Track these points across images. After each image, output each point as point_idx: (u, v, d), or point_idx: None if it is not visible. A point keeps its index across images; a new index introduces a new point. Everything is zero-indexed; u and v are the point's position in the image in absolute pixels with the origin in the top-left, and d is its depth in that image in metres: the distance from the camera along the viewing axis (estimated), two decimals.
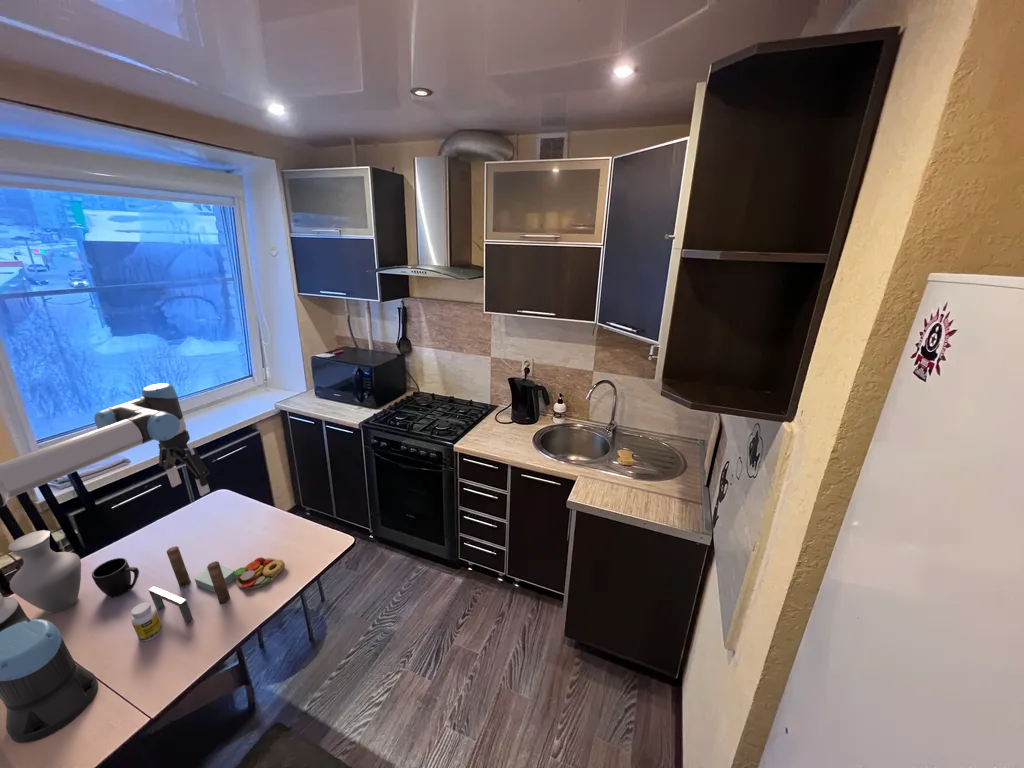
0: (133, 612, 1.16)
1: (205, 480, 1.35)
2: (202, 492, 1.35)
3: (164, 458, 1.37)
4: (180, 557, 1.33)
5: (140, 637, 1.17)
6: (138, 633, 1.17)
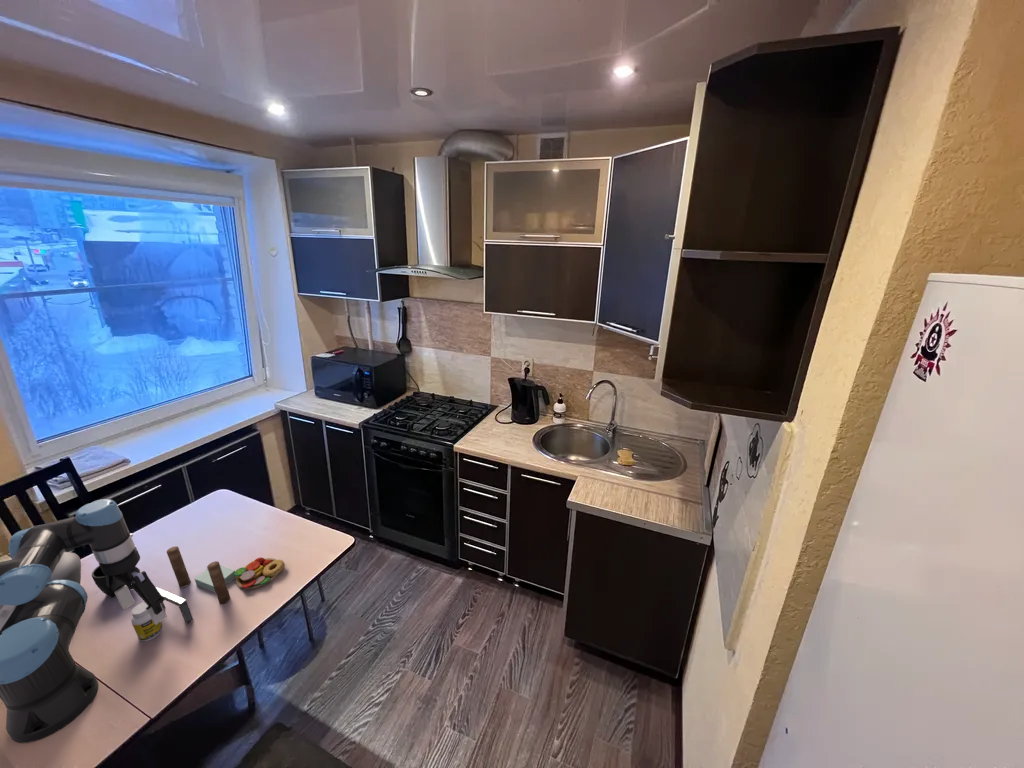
0: (133, 612, 1.16)
1: (159, 607, 1.14)
2: (156, 620, 1.14)
3: (112, 579, 1.16)
4: (180, 557, 1.33)
5: (140, 637, 1.17)
6: (138, 633, 1.17)
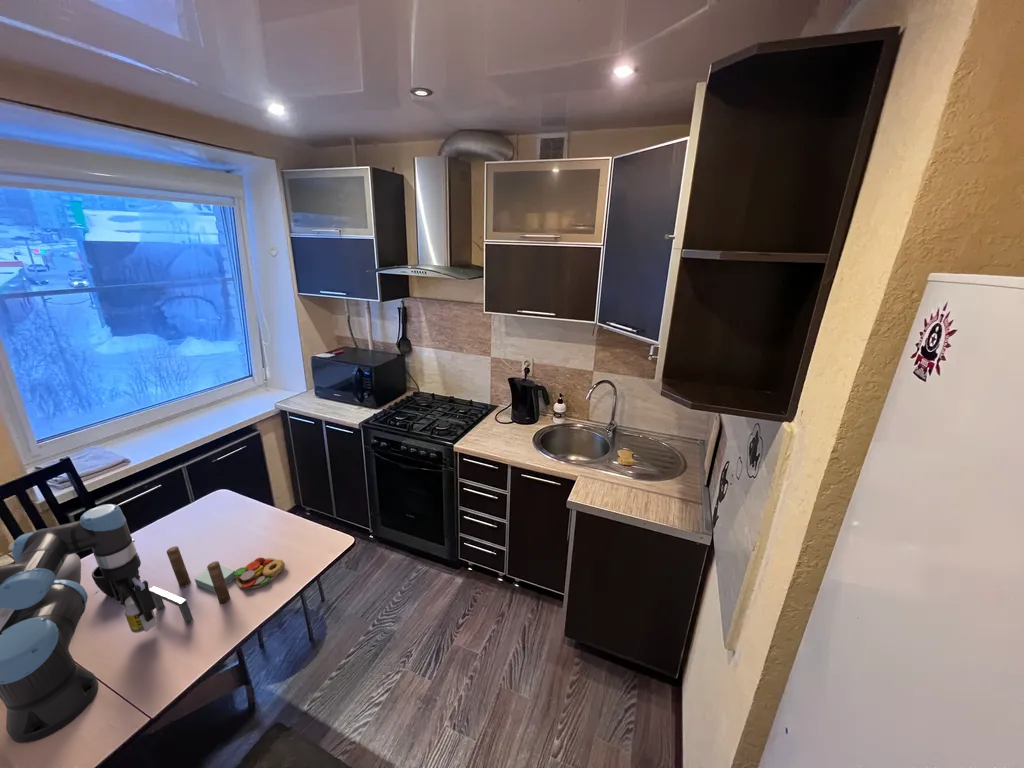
0: (126, 603, 1.14)
1: (150, 614, 1.16)
2: (147, 627, 1.16)
3: (118, 590, 1.16)
4: (180, 557, 1.33)
5: (133, 628, 1.16)
6: (131, 624, 1.15)
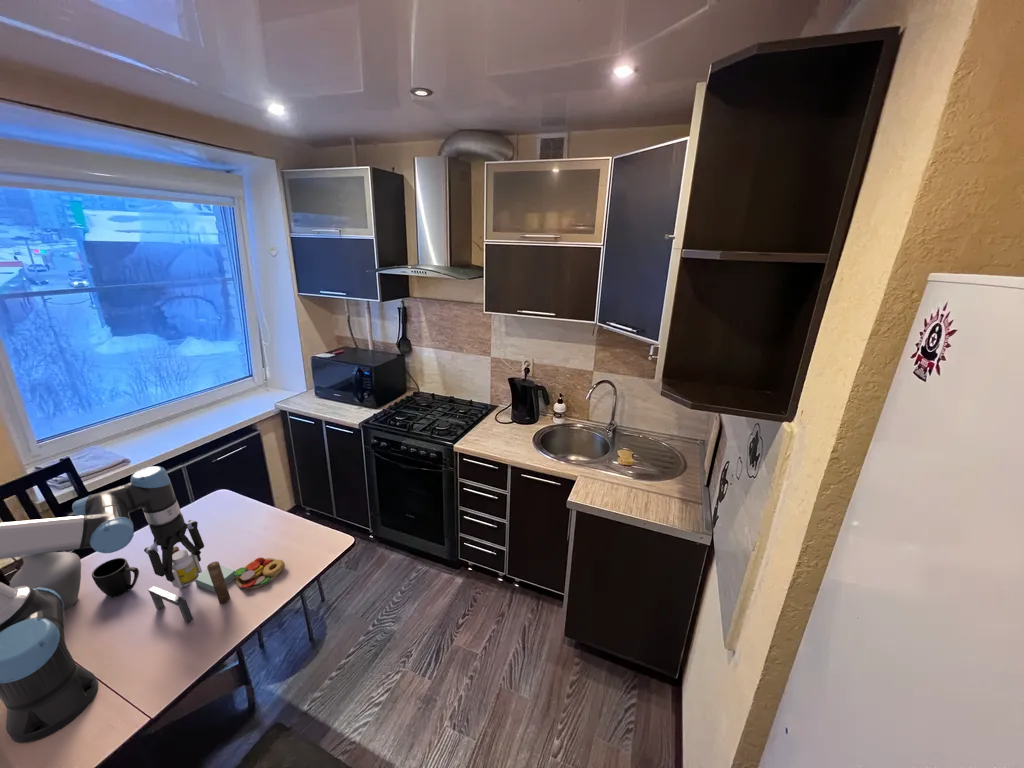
0: (176, 552, 1.26)
1: (168, 577, 1.23)
2: (173, 584, 1.25)
3: (193, 539, 1.29)
4: None
5: None
6: None
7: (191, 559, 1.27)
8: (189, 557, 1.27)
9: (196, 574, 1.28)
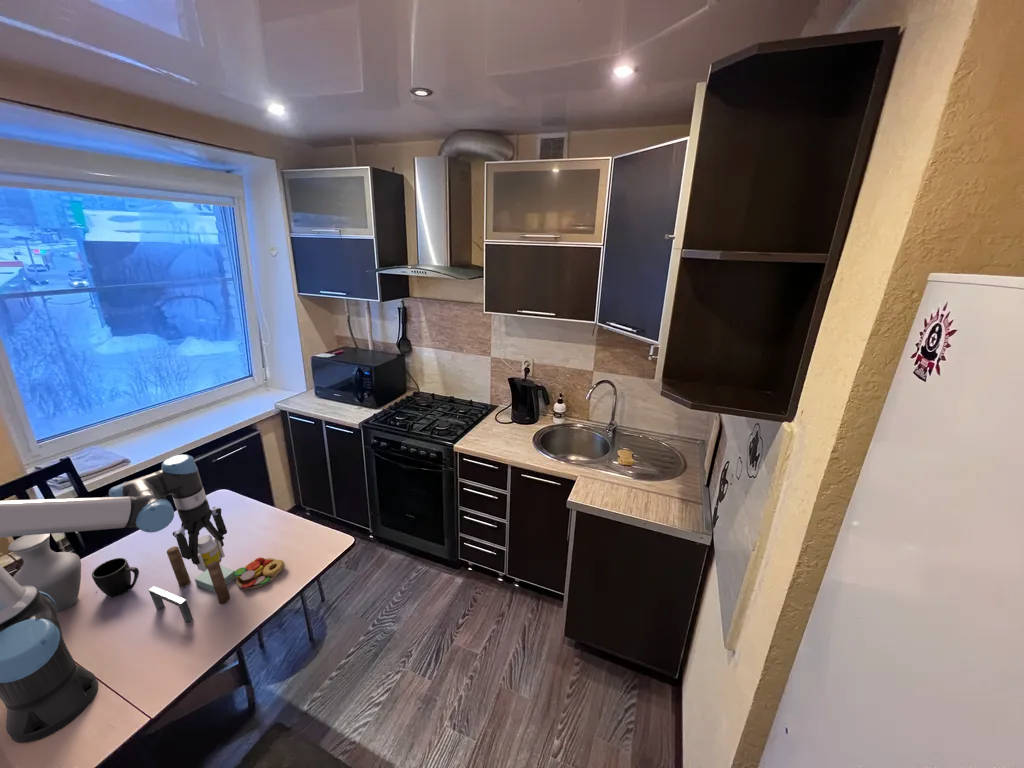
0: (201, 537, 1.32)
1: (193, 560, 1.29)
2: (198, 567, 1.32)
3: (217, 525, 1.36)
4: (180, 557, 1.33)
5: None
6: None
7: (215, 544, 1.33)
8: (213, 542, 1.33)
9: (219, 558, 1.35)
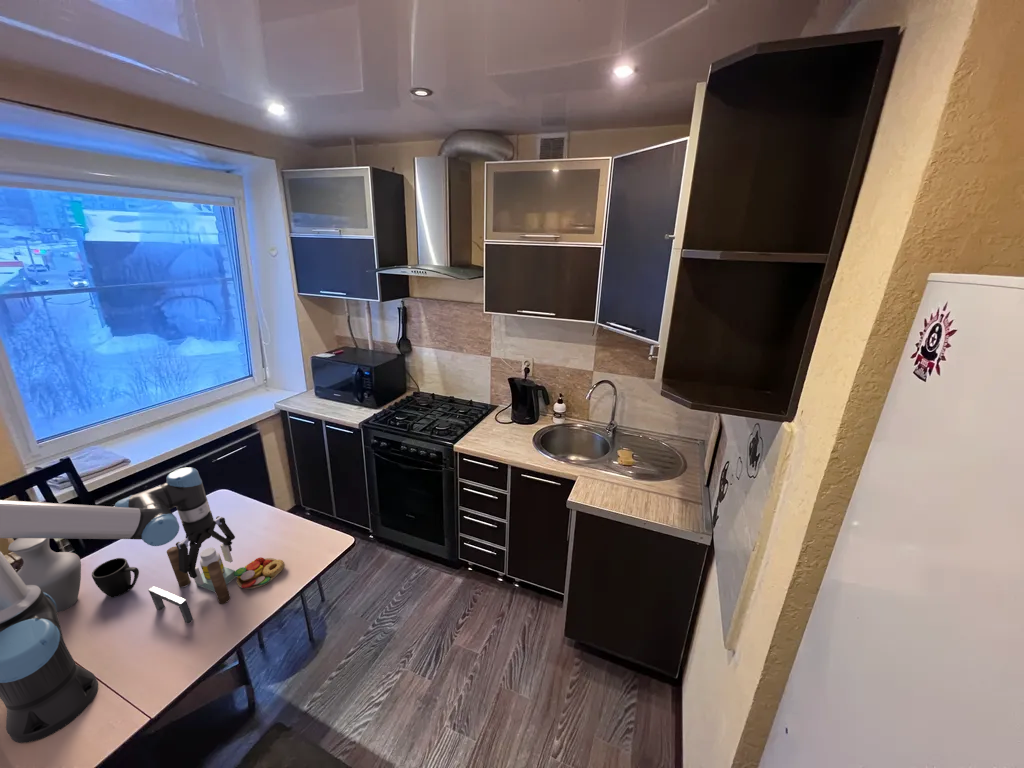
0: (205, 550, 1.34)
1: (191, 574, 1.29)
2: (195, 580, 1.32)
3: (224, 532, 1.38)
4: None
5: None
6: None
7: (218, 556, 1.35)
8: (217, 554, 1.35)
9: (223, 570, 1.37)
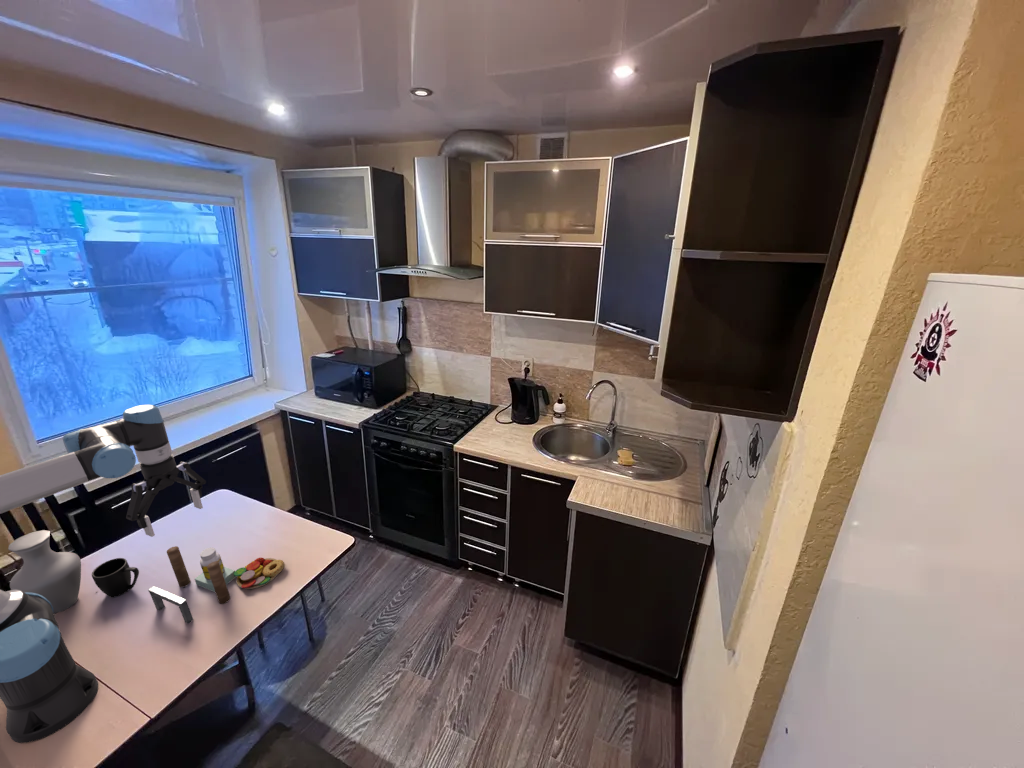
0: (205, 550, 1.34)
1: (140, 523, 1.16)
2: (145, 531, 1.19)
3: (192, 477, 1.29)
4: (180, 557, 1.33)
5: None
6: None
7: (218, 556, 1.35)
8: (217, 554, 1.35)
9: (223, 570, 1.37)
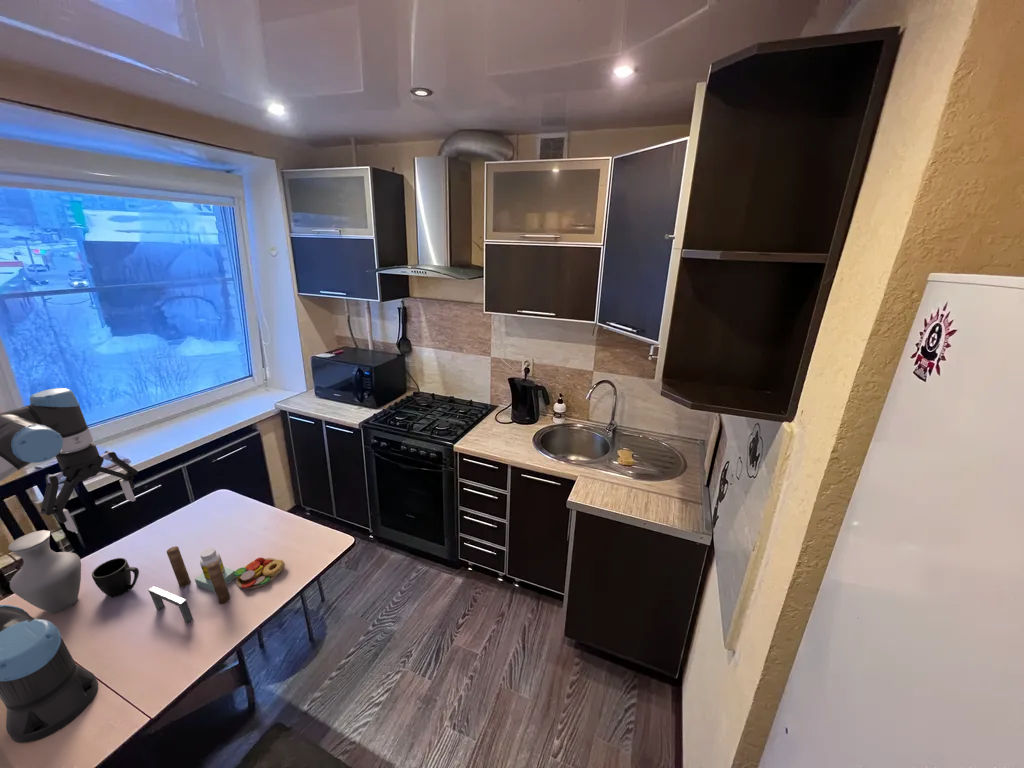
0: (205, 550, 1.34)
1: (58, 518, 1.07)
2: (66, 526, 1.10)
3: (121, 467, 1.19)
4: (180, 557, 1.33)
5: None
6: None
7: (218, 556, 1.35)
8: (217, 554, 1.35)
9: (223, 570, 1.37)
